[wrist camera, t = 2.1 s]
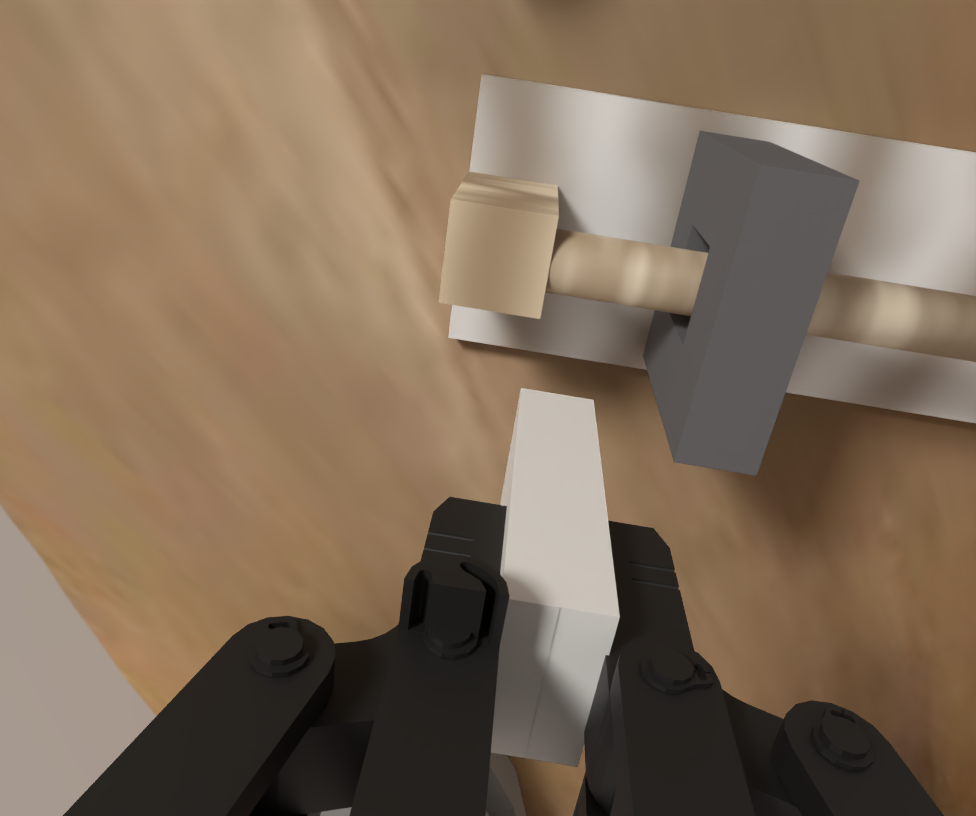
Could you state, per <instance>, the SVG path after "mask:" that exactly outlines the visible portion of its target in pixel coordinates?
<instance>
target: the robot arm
mask: <svg viewBox="0 0 976 816" xmlns="http://www.w3.org/2000/svg"><path fill="white" fill-rule="evenodd" d="M674 570H675V568H674V564H673V560H672V556H671V551H670V548H669V547H668V545H667V544H666V543H665V542H664V541H663V539H662V538H661V537H660V536H659V534H658V533H657V532H656V531H655V530H654V528H649V527H643V526H637V525H631V524H625V523H618V522H612V521H608V515H607V507H606V499H605V491H604V482H603V474H602V466H601V457H600V449H599V441H598V433H597V424H596V416H595V408H594V400H592V399H586V398H579V397H573V396H567V395H561V394H555V393H549V392H543V391H536V390H530V389H524V388H521V391H520V396H519V402H518V408H517V413H516V419H515V424H514V430H513V436H512V441H511V447H510V452H509V458H508V464H507V469H506V475H505V481H504V486H503V492H502V497H501V505H496V504H490V503H484V502H478V501H472V500H466V499H460V498H454V497H449V498H448V499H447V500H446V501H445V502H444V503H442V504H441V505H440V506H439V507H438V508H437V509H436V510H435V511H434V512H433V515H432V519H431V523H430V527H429V531H428V535H427V539H426V542H425V546H424V550H423V554H422V558H421V561H420V562H419V563H417V564H415V565H414V566H412V567H411V569H410V570H409V572H408V574H407V575H406V577H405V578H404V586H403V594H402V603H401V611H400V620H399V624H398V625H397V626H396V627H395V628H393V629H392V630H390V631H389V632H387V633H385V634H383V635H381V636H378V637H375V638H373V639H369V640H363V641H357V642H347V643H336V644H334V641H333V640H332V639H331V637H330V636H329V635H328V633H327V632H326V631H325V630H324V628H322V627H320V626H318V625H316V624H315V623H313V622H311V621H309V620H307V619H301V618H296V617H291V616H282V617H269V618H265V619H262V620H259V621H257V622H254V623H251V624H248V625H247V626H245V627H244V628H243V629H241V630H240V631H239V632H237V633H236V634H235V635H233V636H232V637H231V638H230V639H229V640H228V641H227V642H226V643H225V644H224V645H223V647H222V648H221V649H220V650H219V651H218V652H217V653H216V654H215V655H214V656H213V657H212V658H211V659H210V660H209V661H208V662H207V663H206V665H205V666H204V667H203V668H202V669H201V670H200V671H199V672H198V673H197V674H196V675H195V676H194V677H193V678H192V679H191V680H190V681H189V683H188V684H187V685H186V686H185V687H184V688H183V689H182V690H181V691H180V692H179V693H178V694H177V695H176V696H175V697H174V698H173V699H172V701H171V702H170V703H169V704H168V705H167V706H166V707H165V708H164V709H163V710H162V711H161V712H160V713H159V714H158V715H157V716H156V717H155V719H154V720H153V721H152V722H151V723H150V724H149V725H148V726H147V727H146V728H145V729H144V730H143V731H142V733H140V734H139V735H138V737H137V738H136V739H135V740H134V741H133V742H132V743H131V744H130V745H129V746H128V747H127V748H126V749H125V750H124V752H122V754H121V755H120V756H119V757H118V758H117V759H116V760H115V761H114V762H113V763H112V764H111V765H110V766H109V767H108V768H107V770H106V771H105V772H104V773H103V774H102V775H101V776H100V777H99V778H98V779H97V780H96V781H95V783H93V784H92V785H91V786H90V787H89V788H88V790H87V791H86V792H85V793H84V794H83V795H82V796H81V797H80V798H79V799H78V800H77V801H76V802H75V803H74V804H73V806H72V807H71V808H70V809H69V810H68V811H67V812H66V813H65V814H64V815H63V816H320V814H321V812H323V811H330V810H336V809H343V808H350V807H352V808H351V812H350V815H349V816H485V815H486V803H487V791H488V779H489V768H490V756H491V753H497V754H503V755H509V756H515V757H521V758H527V759H533V760H539V761H545V762H551V763H557V764H563V765H569V766H575V767H578V764H579V760H580V757H581V753H582V750H583V746H584V742H585V763H586V772H585V776H584V779H583V783H582V786H581V790H580V793H579V797H578V800H577V803H576V807H575V810H574V814H573V816H944V815H943V814H942V813H941V811H940V810H939V809H938V807H937V806H936V805H935V803H934V802H933V801H932V799H931V798H930V797H929V795H928V794H927V793H926V791H925V790H924V789H923V787H922V786H921V785H920V783H919V782H918V781H917V779H916V778H915V776H914V775H913V774H912V772H911V771H910V770H909V768H908V767H907V766H906V764H905V763H904V762H903V760H902V759H901V758H900V756H899V755H898V754H897V752H896V751H895V750H894V748H893V747H892V746H891V744H890V743H889V742H888V741H887V740H886V739H885V738H884V737H883V736H882V734H881V733H880V732H879V731H878V730H877V729H876V728H875V727H874V726H873V725H871V724H870V723H868V722H867V721H865V720H864V719H862V718H861V717H859V716H858V715H857V714H855V713H854V712H852V711H849V710H847V709H844V708H842V707H839V706H837V705H834V704H832V703H825V702H818V701H808V702H803V703H799V704H796V705H795V706H794V707H793V708H792V709H791V710H790V711H789V712H788V713H787V714H786V716H785V718H784V719H782V718H779V717H777V716H775V715H772V714H770V713H767V712H765V711H763V710H760V709H758V708H755V707H753V706H751V705H748V704H746V703H744V702H742V701H740V700H738V699H736V698H734V697H732V696H731V695H730V694H728V693H727V692H725V691H724V690H722V688H721V684H720V681H719V679H718V677H717V675H716V673H715V671H714V669H713V667H712V666H711V665H710V664H709V663H708V662H707V661H706V660H705V659H704V658H703V657H702V656H701V655H700V654H699V653H697V652H695V651H694V648H693V644H692V639H691V635H690V631H689V627H688V623H687V618H686V614H685V610H684V606H683V602H682V598H681V593H680V590H678V587H679V585H678V581H677V577H676V573H674Z"/></svg>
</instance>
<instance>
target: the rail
mask: <svg viewBox="0 0 976 816" xmlns="http://www.w3.org/2000/svg"><path fill="white" fill-rule="evenodd" d="M699 131H706V132H712V133H718V134H724V135H731V136H737V137H743V138H750V139H756V140H762V141H768V142H772V143H774V144H776V145H778V146H781V147H783V148H785V149H788V150H790V151H792V152H795V153H797V154H799V155H802V156H804V157H806V158H808V159H811V160H813V161H815V162H818V163H820V164H822V165H825V166H827V167H829V168H832V169H834V170H836V171H838V172H841V173H843V174H845V175H848V176H850V177H852V178H855V179H857V180H859V181H860V182H859V184H858V187H857V190H856V193H855V196H854V199H853V202H852V204H851V207H850V210H849V213H848V216H847V219H846V222H845V224H844V227H843V230H842V233H841V236H840V239H839V242H838V244H837V247H836V250H835V253H834V256H833V259H832V262H831V264H830V267H829V270H828V273H827V276H826V279H825V282H824V284H823V287H822V290H821V293H820V296H819V299H818V302H817V304H816V307H815V310H814V313H813V316H812V319H811V322H810V324H809V327H808V330H807V333H806V336H805V339H804V342H803V344H802V347H801V350H800V353H799V356H798V359H797V362H796V364H795V367H794V370H793V373H792V376H791V379H790V381H789V384H788V387H787V390H786V393H792V394H798V395H804V396H811V397H817V398H823V399H829V400H835V401H841V402H848V403H854V404H860V405H866V406H872V407H878V408H885V409H891V410H897V411H903V412H909V413H915V414H921V415H928V416H934V417H940V418H946V419H952V420H958V421H965V422H971V423H976V152H970V151H964V150H958V149H951V148H945V147H939V146H933V145H926V144H920V143H914V142H908V141H901V140H895V139H889V138H882V137H876V136H870V135H864V134H857V133H851V132H845V131H839V130H832V129H826V128H820V127H814V126H807V125H801V124H795V123H788V122H782V121H776V120H770V119H763V118H757V117H751V116H745V115H738V114H732V113H726V112H720V111H713V110H707V109H701V108H694V107H688V106H682V105H676V104H669V103H663V102H657V101H651V100H644V99H638V98H632V97H625V96H619V95H613V94H607V93H600V92H594V91H588V90H582V89H575V88H569V87H563V86H557V85H550V84H544V83H538V82H531V81H525V80H519V79H513V78H506V77H500V76H494V75H488V74H482V76H481V84H480V92H479V100H478V108H477V116H476V124H475V131H474V139H473V147H472V155H471V163H470V171H469V173H468V174H467V176H466V177H465V179H464V180H463V182H462V183H461V185H460V186H459V188H458V189H457V191H456V192H455V194H454V195H453V197H452V198H451V202H450V211H449V219H448V228H447V236H446V244H445V253H444V261H443V270H442V278H441V287H440V295H439V303H444V304H450V305H452V312H451V320H450V328H449V336H448V338H453V339H460V340H466V341H472V342H478V343H484V344H490V345H497V346H503V347H509V348H515V349H521V350H527V351H534V352H540V353H546V354H552V355H558V356H564V357H570V358H577V359H583V360H589V361H595V362H601V363H607V364H614V365H620V366H626V367H632V368H638V369H644V370H647V368H646V365H645V361H644V358H643V354H644V350H645V346H646V342H647V338H648V334H649V330H650V326H651V322H652V318H653V314H654V310H656V311H663V312H669V313H675V314H681V315H687V316H691V314H692V311H693V307H694V304H695V300H696V296H697V293H698V289H699V285H700V282H701V278H702V275H703V271H704V267H705V264H706V260H707V256H708V253H706V252H700V251H693V250H687V249H681V248H675V247H670V246H671V243H672V239H673V235H674V231H675V227H676V223H677V219H678V215H679V211H680V207H681V203H682V199H683V195H684V191H685V187H686V183H687V179H688V175H689V171H690V167H691V163H692V159H693V155H694V151H695V147H696V143H697V139H698V135H699Z"/></svg>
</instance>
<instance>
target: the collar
mask: <svg viewBox="0 0 976 816" xmlns="http://www.w3.org/2000/svg"><path fill="white" fill-rule="evenodd" d="M859 182H860V181H859V180H857V179H855V178H852V177H850V176H848V175H845V174H843V173H841V172H838V171H836V170H834V169H832V168H829V167H827V166H825V165H822V164H820V163H818V162H815V161H813V160H811V159H808V158H806V157H804V156H802V155H799V154H797V153H795V152H792V151H790V150H788V149H785V148H783V147H781V146H778V145H776V144H774V143H772V142H768V141H762V140H756V139H750V138H743V137H737V136H731V135H724V134H718V133H712V132H706V131H699V135H698V139H697V143H696V147H695V151H694V155H693V159H692V163H691V167H690V171H689V175H688V179H687V183H686V187H685V191H684V195H683V199H682V203H681V207H680V211H679V215H678V219H677V223H676V227H675V231H674V235H673V239H672V243H671V246H670V247H675V248H681V249H687V250H693V251H700V252H706V253H708V256H707V260H706V264H705V267H704V271H703V275H702V278H701V282H700V285H699V289H698V293H697V296H696V300H695V304H694V307H693V311H692V314H691V316H687V315H681V314H675V313H669V312H663V311H656V310H654V314H653V318H652V322H651V326H650V330H649V334H648V338H647V342H646V346H645V350H644V354H643V358H644V361H645V365H646V368H647V371H648V375H649V378H650V382H651V385H652V389H653V392H654V395H655V399H656V402H657V406H658V409H659V412H660V416H661V419H662V423H663V426H664V430H665V433H666V436H667V440H668V443H669V447H670V450H671V453H672V457H673V460H674V462H676V463H682V464H688V465H694V466H700V467H707V468H713V469H719V470H725V471H731V472H737V473H743V474H749V475H756V476H757V473H758V470H759V467H760V464H761V461H762V459H763V456H764V453H765V450H766V447H767V444H768V441H769V439H770V436H771V433H772V430H773V427H774V424H775V421H776V419H777V416H778V413H779V410H780V407H781V404H782V401H783V399H784V396H785V393H786V390H787V387H788V384H789V381H790V379H791V376H792V373H793V370H794V367H795V364H796V362H797V359H798V356H799V353H800V350H801V347H802V344H803V342H804V339H805V336H806V333H807V330H808V327H809V324H810V322H811V319H812V316H813V313H814V310H815V307H816V304H817V302H818V299H819V296H820V293H821V290H822V287H823V284H824V282H825V279H826V276H827V273H828V270H829V267H830V264H831V262H832V259H833V256H834V253H835V250H836V247H837V244H838V242H839V239H840V236H841V233H842V230H843V227H844V224H845V222H846V219H847V216H848V213H849V210H850V207H851V204H852V202H853V199H854V196H855V193H856V190H857V187H858V184H859Z"/></svg>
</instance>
